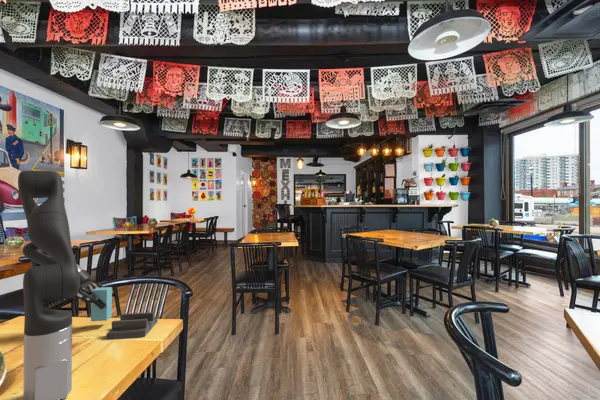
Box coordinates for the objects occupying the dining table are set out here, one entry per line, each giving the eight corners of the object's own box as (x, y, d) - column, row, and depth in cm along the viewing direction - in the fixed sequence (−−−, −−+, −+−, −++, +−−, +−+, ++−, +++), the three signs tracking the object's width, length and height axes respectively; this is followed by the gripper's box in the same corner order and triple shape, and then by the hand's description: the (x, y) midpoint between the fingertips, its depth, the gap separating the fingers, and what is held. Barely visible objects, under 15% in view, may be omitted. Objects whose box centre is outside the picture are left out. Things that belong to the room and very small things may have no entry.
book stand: (145, 336, 105) (145, 322, 105) (106, 338, 103) (106, 325, 103) (157, 321, 118) (157, 309, 118) (123, 323, 116) (123, 311, 116)
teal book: (106, 320, 112) (106, 289, 113) (90, 321, 112) (90, 290, 112) (111, 316, 116) (111, 287, 117) (96, 317, 116) (96, 287, 116)
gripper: (69, 273, 106) (105, 304, 108) (91, 265, 120) (122, 293, 122) (53, 288, 105) (89, 319, 107) (77, 278, 120) (109, 306, 121)
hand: (107, 305), depth 114 cm, fingers closed on teal book, 4 cm apart
